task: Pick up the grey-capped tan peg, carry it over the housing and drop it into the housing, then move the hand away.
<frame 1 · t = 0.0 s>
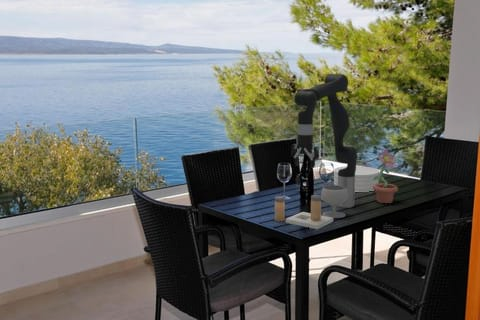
hand: (304, 166, 257), 29 cm above the table, tool pointing down, fingers open, 8 cm apart
chalice: (333, 215, 279), on the table
plate stack: (355, 188, 341), on the table
housing: (309, 222, 267), on the table
decorative flower: (383, 202, 305), on the table
grey-capped tan peg: (279, 220, 271), on the table
pneumatic valve: (305, 192, 330), on the table
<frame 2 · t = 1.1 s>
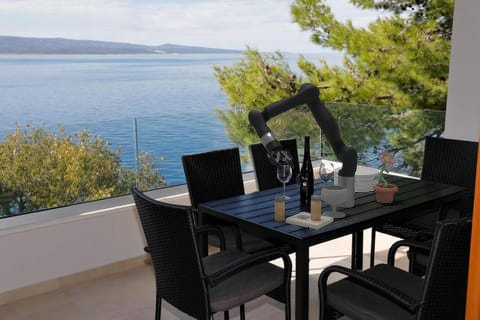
hand: (287, 168, 264), 27 cm above the table, tool tilted 45°, fingers open, 8 cm apart
nothing on the table moved.
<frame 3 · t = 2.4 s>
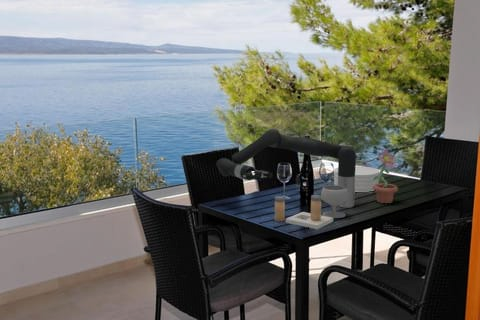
hand: (266, 177, 274), 21 cm above the table, tool horizontal, fingers open, 8 cm apart
nothing on the table moved.
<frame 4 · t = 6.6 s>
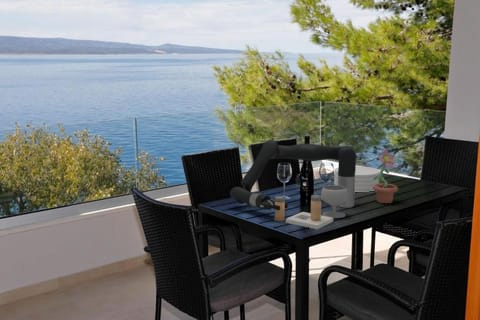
hand: (283, 207, 268), 7 cm above the table, tool horizontal, fingers closed on grey-capped tan peg, 5 cm apart
grey-capped tan peg: (279, 220, 271), on the table, touching gripper
everything else where it was.
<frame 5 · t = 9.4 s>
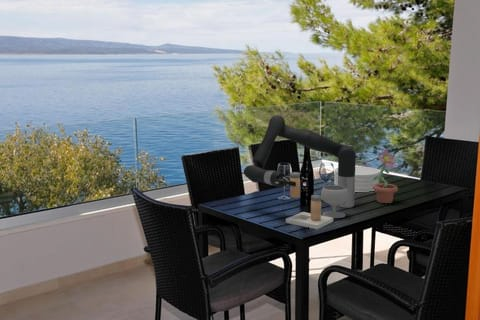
hand: (299, 183, 265), 20 cm above the table, tool horizontal, fingers closed on grey-capped tan peg, 5 cm apart
grey-capped tan peg: (295, 196, 268), point 12 cm above the table, touching gripper
everything else where it was.
when the fingers open (9 cm above the table, at t = 12.5 s): grey-capped tan peg drops 1 cm, resting in housing.
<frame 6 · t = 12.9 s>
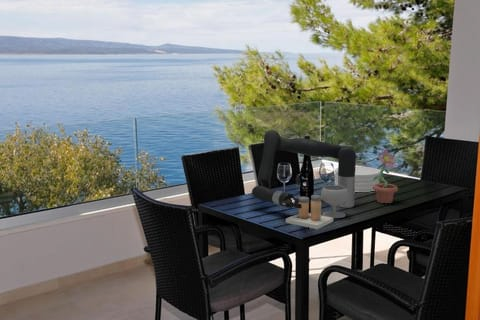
hand: (306, 204, 266), 9 cm above the table, tool horizontal, fingers open, 8 cm apart
grey-capped tan peg: (303, 220, 269), resting in housing
everything else where it was.
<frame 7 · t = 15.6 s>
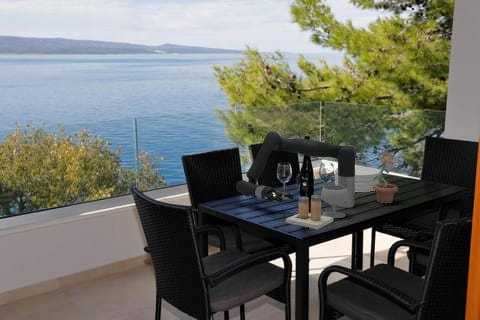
hand: (287, 198, 276), 9 cm above the table, tool horizontal, fingers open, 8 cm apart
nothing on the table moved.
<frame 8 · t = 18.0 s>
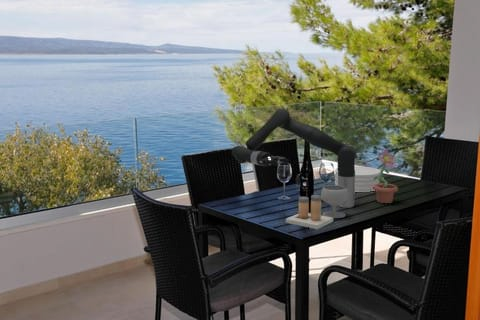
hand: (282, 162, 275), 28 cm above the table, tool horizontal, fingers open, 8 cm apart
nothing on the table moved.
at the end: grey-capped tan peg 0.1 cm from the target spot on the housing, point 0.0 cm above the housing's base; grey-capped tan peg tilted 0°; the gripper is holding nothing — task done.
